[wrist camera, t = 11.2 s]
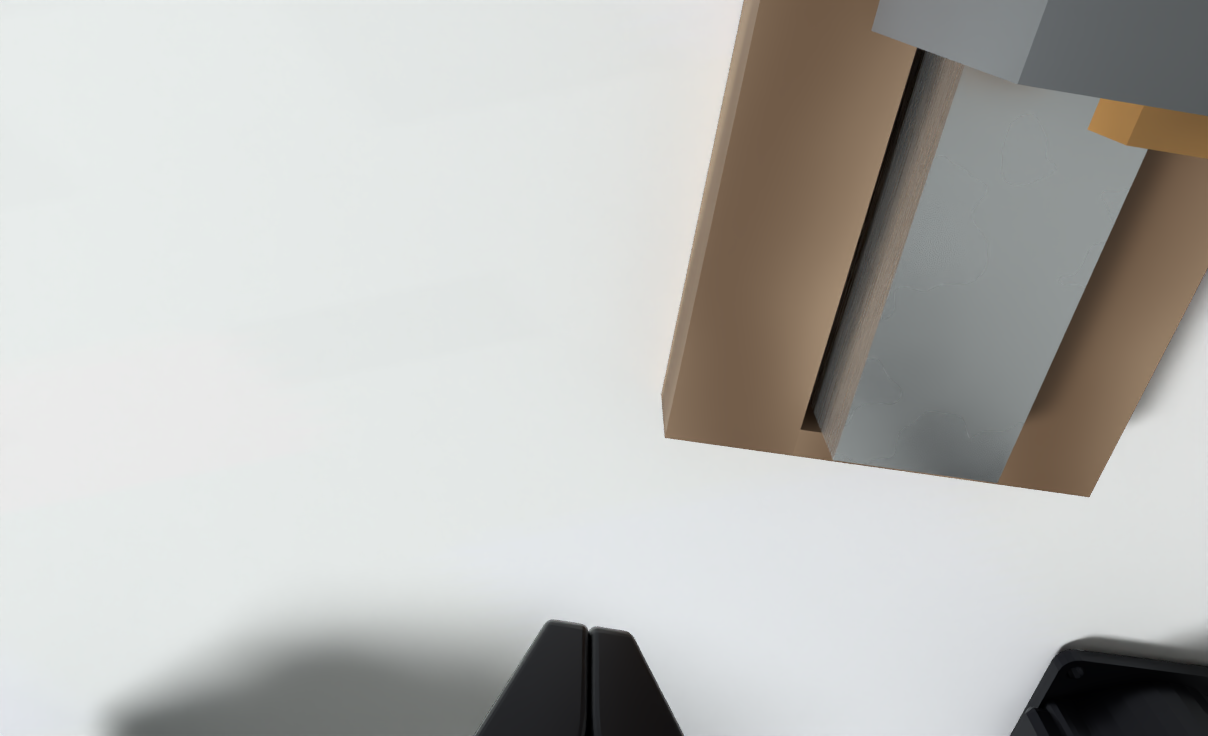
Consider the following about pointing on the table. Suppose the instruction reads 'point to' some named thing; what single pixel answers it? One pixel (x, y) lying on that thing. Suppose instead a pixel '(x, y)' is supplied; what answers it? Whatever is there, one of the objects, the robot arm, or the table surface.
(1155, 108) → the block
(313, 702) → the table surface
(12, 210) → the table surface
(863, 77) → the rail base
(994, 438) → the rail
